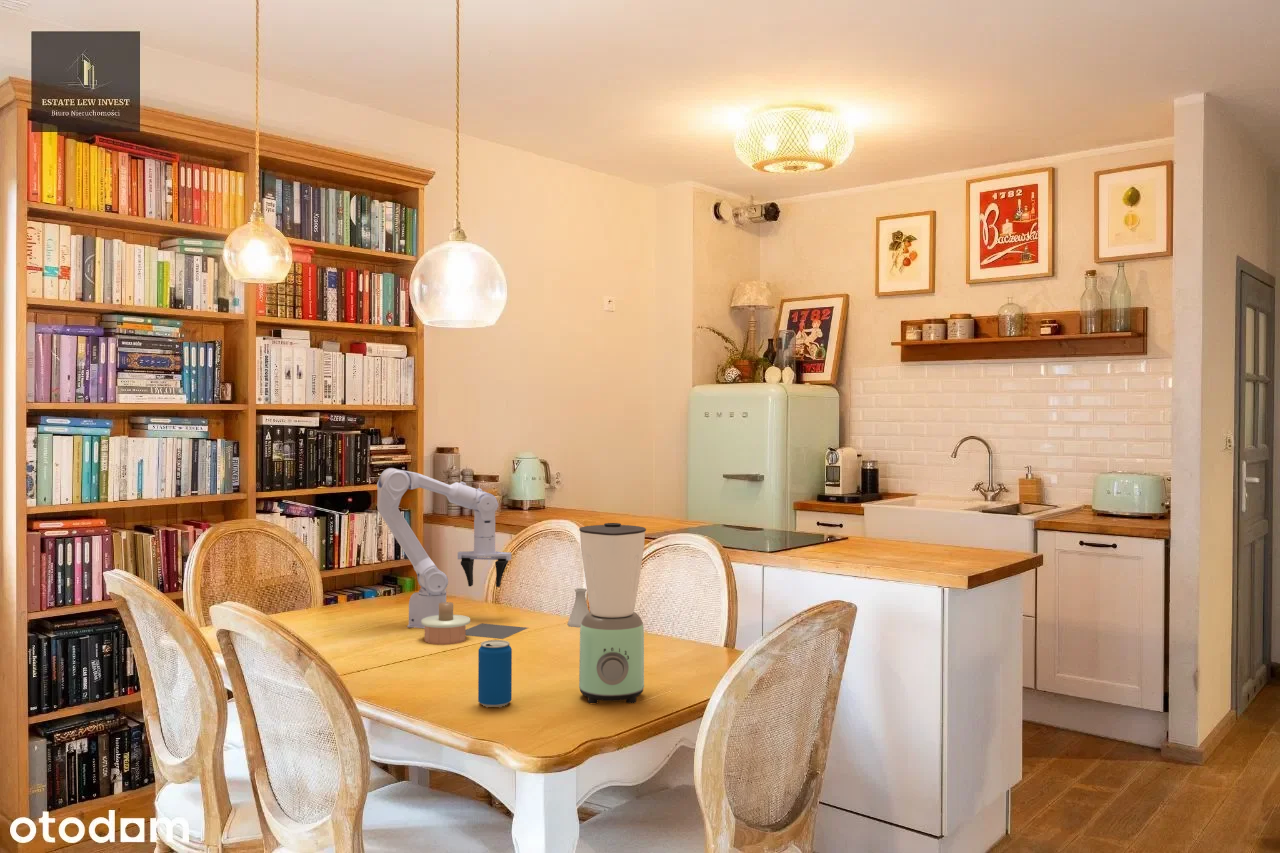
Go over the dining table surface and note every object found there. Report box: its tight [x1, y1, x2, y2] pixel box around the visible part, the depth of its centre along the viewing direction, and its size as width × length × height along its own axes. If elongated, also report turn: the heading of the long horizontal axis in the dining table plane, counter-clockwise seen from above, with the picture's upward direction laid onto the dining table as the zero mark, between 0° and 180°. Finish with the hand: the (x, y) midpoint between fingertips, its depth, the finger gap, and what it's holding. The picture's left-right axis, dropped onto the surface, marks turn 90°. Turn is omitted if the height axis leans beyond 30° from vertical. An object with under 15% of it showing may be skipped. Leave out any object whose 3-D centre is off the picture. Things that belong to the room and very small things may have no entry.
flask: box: [567, 587, 590, 628], centre depth 268 cm, size 7×7×10 cm
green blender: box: [578, 522, 647, 704], centre depth 202 cm, size 19×13×35 cm
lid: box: [421, 601, 471, 628], centre depth 249 cm, size 12×12×5 cm
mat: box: [466, 623, 528, 640], centre depth 259 cm, size 14×14×1 cm
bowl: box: [424, 625, 467, 645], centre depth 249 cm, size 10×10×4 cm
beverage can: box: [477, 639, 513, 708], centre depth 195 cm, size 6×6×12 cm
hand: (484, 586), depth 271 cm, fingers open, 7 cm apart
